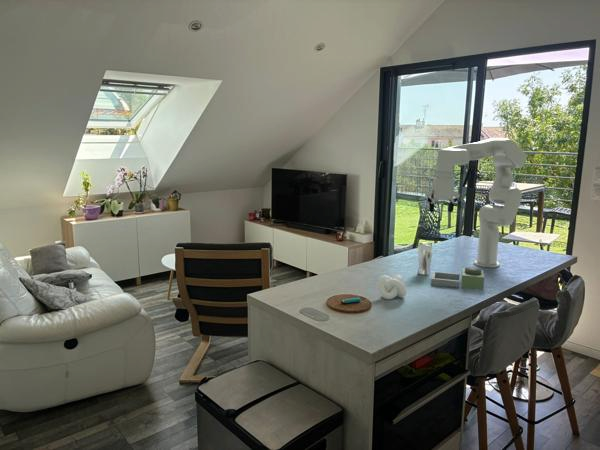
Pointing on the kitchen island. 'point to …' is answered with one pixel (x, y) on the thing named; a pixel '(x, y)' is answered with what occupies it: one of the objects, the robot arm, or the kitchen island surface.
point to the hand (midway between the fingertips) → (441, 211)
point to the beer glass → (425, 258)
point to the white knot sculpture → (391, 287)
